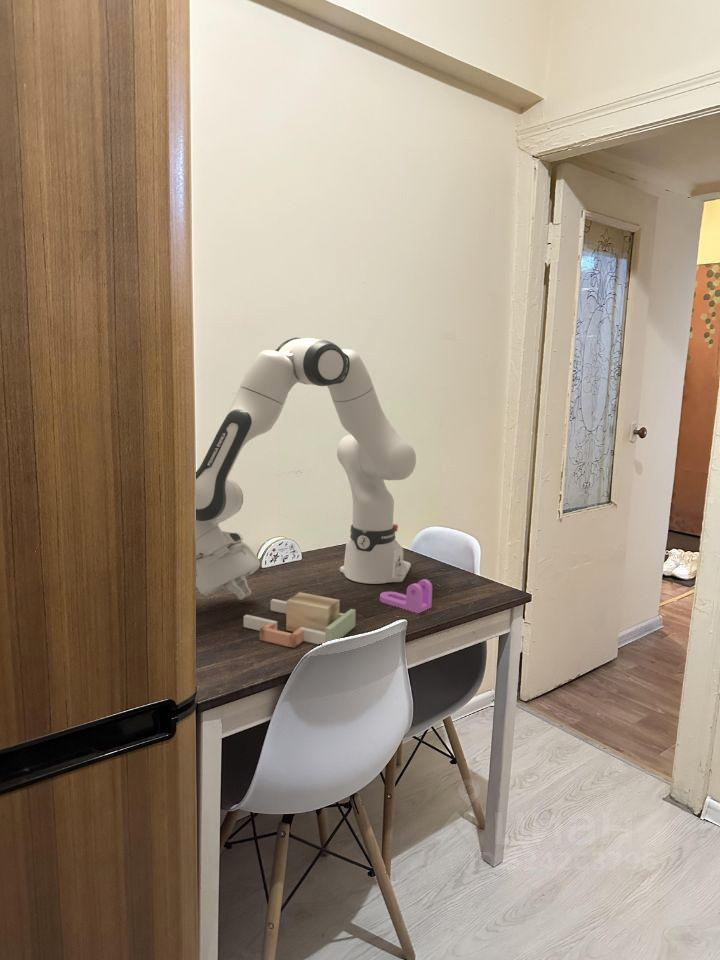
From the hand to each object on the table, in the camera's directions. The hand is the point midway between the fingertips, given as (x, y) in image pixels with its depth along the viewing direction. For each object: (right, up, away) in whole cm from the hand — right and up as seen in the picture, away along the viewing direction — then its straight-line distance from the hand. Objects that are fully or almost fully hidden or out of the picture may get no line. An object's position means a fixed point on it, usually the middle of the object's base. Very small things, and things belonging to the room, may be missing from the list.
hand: (246, 596), depth 157 cm
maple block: (+16, -7, -6) cm, 18 cm away
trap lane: (+12, -6, -4) cm, 14 cm away
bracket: (+37, -4, +11) cm, 39 cm away
